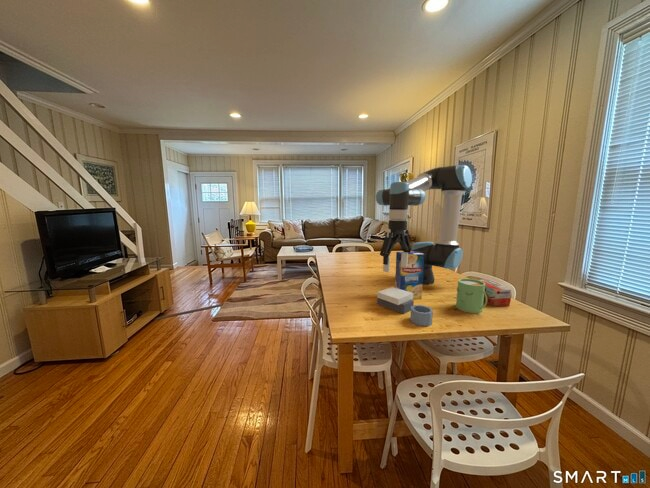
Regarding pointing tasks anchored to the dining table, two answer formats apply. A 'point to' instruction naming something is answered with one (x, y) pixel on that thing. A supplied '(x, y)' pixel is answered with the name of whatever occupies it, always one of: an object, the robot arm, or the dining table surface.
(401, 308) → the blue-grey rectangular block
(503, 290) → the medicine box
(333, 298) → the dining table surface
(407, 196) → the robot arm
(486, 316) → the dining table surface
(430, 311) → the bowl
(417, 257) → the blue cereal box
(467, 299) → the mug
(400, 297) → the tile
